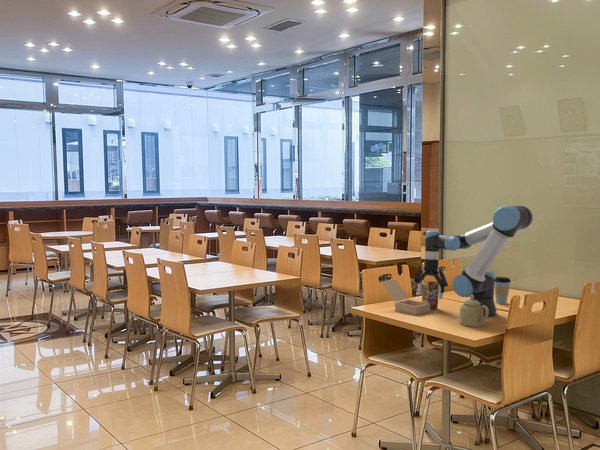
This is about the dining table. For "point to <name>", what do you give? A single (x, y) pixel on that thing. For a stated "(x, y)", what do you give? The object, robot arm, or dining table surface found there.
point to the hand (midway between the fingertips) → (429, 296)
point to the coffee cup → (501, 289)
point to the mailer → (412, 307)
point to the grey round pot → (472, 313)
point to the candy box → (430, 293)
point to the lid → (394, 290)
